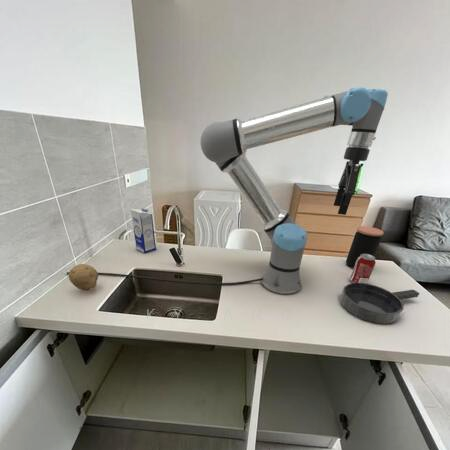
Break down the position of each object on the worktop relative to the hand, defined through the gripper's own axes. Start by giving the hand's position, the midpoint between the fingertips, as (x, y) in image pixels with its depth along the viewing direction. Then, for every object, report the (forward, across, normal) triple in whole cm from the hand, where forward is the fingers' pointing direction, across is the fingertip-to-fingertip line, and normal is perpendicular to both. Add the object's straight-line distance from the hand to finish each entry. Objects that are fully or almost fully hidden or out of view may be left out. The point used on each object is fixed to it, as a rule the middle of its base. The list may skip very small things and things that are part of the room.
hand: (339, 209), depth 94 cm
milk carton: (+30, -5, +84) cm, 89 cm away
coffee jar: (+28, +14, -18) cm, 36 cm away
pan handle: (+25, -14, -28) cm, 40 cm away
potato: (+30, -44, +85) cm, 100 cm away
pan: (+28, -22, -16) cm, 39 cm away
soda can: (+28, -3, -16) cm, 32 cm away
